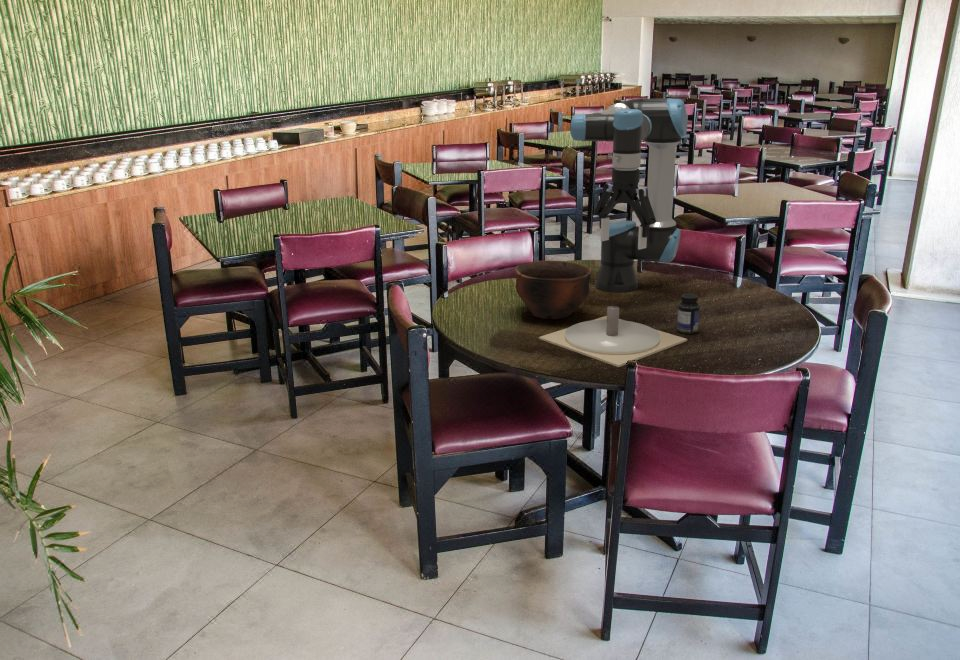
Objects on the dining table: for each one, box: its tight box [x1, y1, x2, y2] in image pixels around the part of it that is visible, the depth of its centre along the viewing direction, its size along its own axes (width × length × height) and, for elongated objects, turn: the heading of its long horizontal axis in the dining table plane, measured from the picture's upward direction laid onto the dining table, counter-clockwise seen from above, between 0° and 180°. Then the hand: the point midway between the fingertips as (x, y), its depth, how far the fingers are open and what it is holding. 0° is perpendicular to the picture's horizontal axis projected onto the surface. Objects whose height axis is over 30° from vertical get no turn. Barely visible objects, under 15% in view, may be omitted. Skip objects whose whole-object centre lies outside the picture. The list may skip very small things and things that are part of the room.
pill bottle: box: [676, 293, 700, 335], centre depth 225 cm, size 6×6×11 cm
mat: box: [538, 315, 688, 368], centre depth 221 cm, size 30×30×1 cm
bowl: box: [514, 260, 593, 320], centre depth 242 cm, size 25×25×15 cm
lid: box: [565, 305, 660, 355], centre depth 219 cm, size 27×27×9 cm
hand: (622, 244), depth 216 cm, fingers open, 13 cm apart
